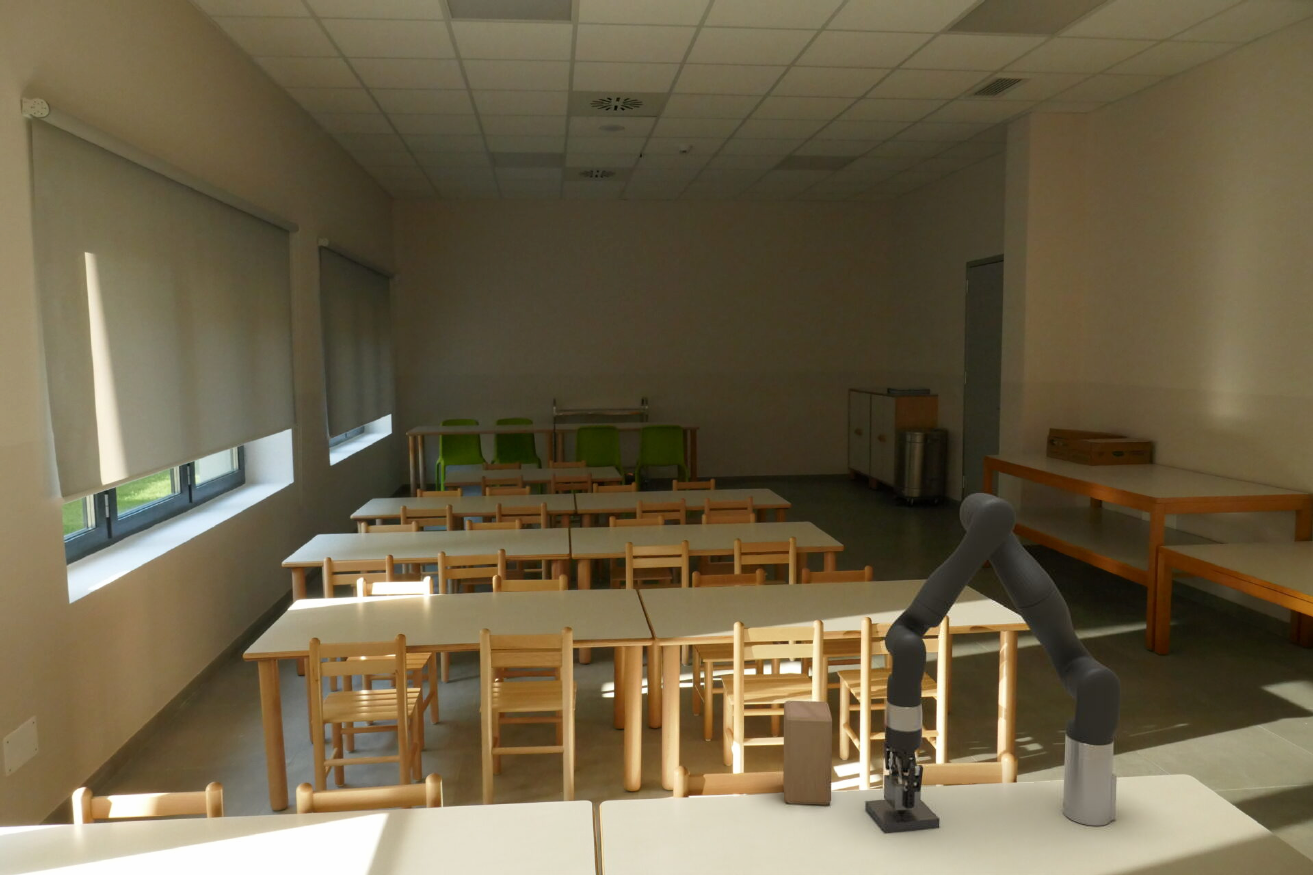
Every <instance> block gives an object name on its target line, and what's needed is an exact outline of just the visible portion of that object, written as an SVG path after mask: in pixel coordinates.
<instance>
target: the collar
mask: <svg viewBox="0 0 1313 875" xmlns="http://www.w3.org/2000/svg"><path fill="white" fill-rule="evenodd" d="M904 775H909V772H908V773H904ZM898 776H899V774H893V775H889V774H884V775H883V780H884V781H883V800H886V801H887V802H888V803H889V804H890V805H891V806H892V808H893V809H894V810H905V809H906V808H904V806H903V790H904V789H903V784H898ZM907 785H908V779H907ZM921 796H922V790H921V791H920V792H915V799H914V807H913V808H908V809H916V808H920V803H921V800H922V799H921V798H922V797H921Z"/></svg>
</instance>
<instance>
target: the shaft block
mask: <svg viewBox="0 0 1313 875" xmlns="http://www.w3.org/2000/svg"><path fill="white" fill-rule="evenodd" d="M898 784H903V783H902V780H901V779H900V778H899V776H898ZM864 803H865V807H864V809H865V812H866V813H867V814H868V815H869V817H870V818H871V819H872V820H873V822H874V823H875V824H876V825H877V826H878V827H879V828H880V829H881V831H882V832H883V833H884V834H892V833H893V834H895V833H901V832H902V833H904V832H912V831H914V832H915V831H922V830H923V831H924V830H932V829H933V830H934V829H940V823H941V822H940V820H941V819H940V817H938V816H937V815H936V813H934V811H933V810H932V809H931V808H930V807H929V806H928V805H927V804H926V803H925V802H924V801H923V800H922V799H921V803H920V808H916V809H905V810H894V809H893V808H892V806H891V805H890V804H889V803H888V802H887V801H886V800H885V799H876V800H875V799H874V800H865V801H864Z"/></svg>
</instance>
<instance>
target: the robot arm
mask: <svg viewBox="0 0 1313 875" xmlns="http://www.w3.org/2000/svg"><path fill="white" fill-rule="evenodd" d="M959 519H960V523H961V525H962V527H963V529H964V530H965V531H966V532H965V535H964V536H963V538H962V540H961V542H960V544H959V545H958V546H957V547H956V549H955V550H954V552H953V553H952V554H951V555H950V556H949V557H948V558H947V559H946V560H945V561H944V562H943V563H942V564H940V565H939V567H937V568H936V569H934V571H933V572H932V573H931V574H930V575H929V577H928V578H927V579H926V580H925V582H924V583H923V585H922V586H921V588H920V589H919V591H918V592H917V594H916V595H915V597H914V598H913V600H912V602H911V603H910V605H909V606H908V607H907V608H906V609H905V610H904V611H903V612H902V613H901V614H900V615H899V616H898V617H897V618H896V619H895V620H894V621H893V623H892V624H891V626H890V627H889V628H888V630H887V632H886V634H885V637H884V646H885V649H886V650H887V652H888V654H889V655H890V656H891V659H892V667H891V672H890V674H889V675H888V677H887V681H886V682H887V683H886V704H885V710H884V713H885V714H884V742H883V749H884V765H885V766H884V769H885V770H886V771H888V775H893V774H899V778H900V779H901V780H902V783H903V789H904V790H903V806H904V808H906V809H908V808H913V807H914V799H915V792H920V791H921V792H922V784H923V783H922V782H923V775H924V774H923V773H924V767H923V764H918V763H917V759H916V752H917V750H919V749H921V747H922V746H923V706H922V699H923V698H922V692H923V690H922V683H923V678H924V673H925V669H926V663H927V647H926V643H925V641H924V640H923V638H924V636H925V635H926V633H927V632H928V631H929V630H930V629H932V628H933V629H934V628H937V627H939V626H940V625H941V623H943V621H944V619H945V618H946V616H947V615H948V614H949V611H950V610H951V609H952V607H953V606H954V604H955V602H956V601H957V599H958V598H959V596H960V595H961V593H962V592H963V590H965V589H966V586H967V585H968V584H969V583H970V581H971V580H972V578H973V577H974V576H975V574H977V572H978V571H979V570H980V569H981V568H982V566H983V565H985V562H987V560H988V561H989V563H990V564H991V566H992V567H993V569H994V572H995V574H996V575H997V577H998V580H999V582H1000V583H1001V584H1002V586H1003V588H1004V590H1005V592H1006V593H1007V595H1008V597H1009V599H1010V601H1011V602H1012V605H1014V607H1015V608H1016V611H1017V612H1018V614H1019V615H1020V617H1021V619H1022V621H1024V622H1025V625H1026V626H1027V627H1028V628H1029V630H1030V631H1031V633H1032V635H1033V636H1034V637H1035V638H1036V640H1037V641H1038V643H1039V644H1040V645H1041V647H1042V648H1043V649H1044V651H1045V652H1046V655H1047V656H1048V658H1049V660H1050V662H1051V664H1052V667H1053V668H1054V670H1055V673H1056V675H1057V676H1058V679H1059V681H1060V683H1061V685H1062V686H1063V689H1064V690H1065V691H1066V692H1067V694H1068V695H1070V697H1072V698H1073V699H1074V700H1075V710H1074V716H1072V717H1069V718H1068V719H1067V720H1066V723H1065V737H1064V739H1065V740H1064V741H1065V742H1064V743H1065V744H1064V746H1065V748H1064V772H1063V773H1064V774H1063V796H1062V797H1063V798H1062V803H1063V804H1062V812H1063V814H1064V815H1065V817H1066V818H1068V819H1070V820H1071V821H1073V822H1075V823H1079V824H1082V825H1087V826H1098V827H1099V826H1106V825H1108V824H1109V823H1110V822H1111V821H1116V811H1117V810H1116V808H1117V806H1116V805H1117V783H1118V782H1117V781H1118V779H1117V778H1118V777H1117V776H1116V774H1114V773H1113V770H1114V742H1115V734H1116V732H1117V730H1118V728H1119V723H1120V715H1121V714H1120V713H1121V703H1122V687H1121V682H1120V679H1119V676H1117V674H1116V673H1115V672H1114V671H1113V670H1112V669H1110V668H1108V667H1106V666H1105V665H1103V664H1101V662H1099V661H1097V659H1095V658H1094V657H1093V656H1092V655H1091V653H1090V652H1089V651H1088V650H1087V648H1086V647H1085V646H1084V644H1083V643H1082V641H1081V640H1080V638H1079V637H1078V635H1077V634H1076V631H1075V629H1074V626H1073V623H1072V617H1071V613H1070V610H1069V607H1068V605H1067V602H1066V601H1065V598H1064V597H1063V594H1062V593H1061V592H1060V590H1059V588H1058V587H1057V585H1056V584H1055V582H1054V581H1053V579H1052V578H1051V577H1050V575H1049V574H1048V573H1047V571H1046V570H1045V569H1044V567H1042V566H1041V565H1040V563H1038V561H1037V560H1036V559H1035V558H1034V557H1033V556H1032V555H1031V554H1030V553H1029V552H1028V550H1026V549H1025V548H1024V546H1023V545H1022V543H1021V542H1019V540H1018V538H1017V536H1016V535H1015V533H1014V531H1013V530H1014V528H1015V526H1016V523H1017V515H1016V511H1015V509H1014V507H1013V506H1012V505H1011V504H1010V502H1008V501H1006V500H1005V499H1002V498H1000V497H998V496H995V495H993V494H989V493H985V492H976V493H972V494H969V495H968V496H966V497H965V498H964V499H963V501H962V502H961V505H960V507H959ZM904 773H909V775H904ZM907 779H908V785H907Z"/></svg>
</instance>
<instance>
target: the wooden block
mask: <svg viewBox="0 0 1313 875" xmlns="http://www.w3.org/2000/svg"><path fill="white" fill-rule="evenodd" d="M829 705H830V704H829V703H828V702H826V701H811V700H786V701H785V702H784V704H783V764H782V766H783V768H782V770H783V775H782V776H783V777H782V778H783V780H782V781H783V794H784V800H785V802H786V803H787V802H788V803H787V804H799V805H800V804H801V805H820V806H821V805H822V806H824V805H825V806H827V805H830V803H832V802H831V801H832V766H833V765H832V761H833V760H832V758H833V757H832V756H833V755H832V752H833V750H832V749H833V744H832V743H833V718H832V714H831V710H830V706H829Z"/></svg>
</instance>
